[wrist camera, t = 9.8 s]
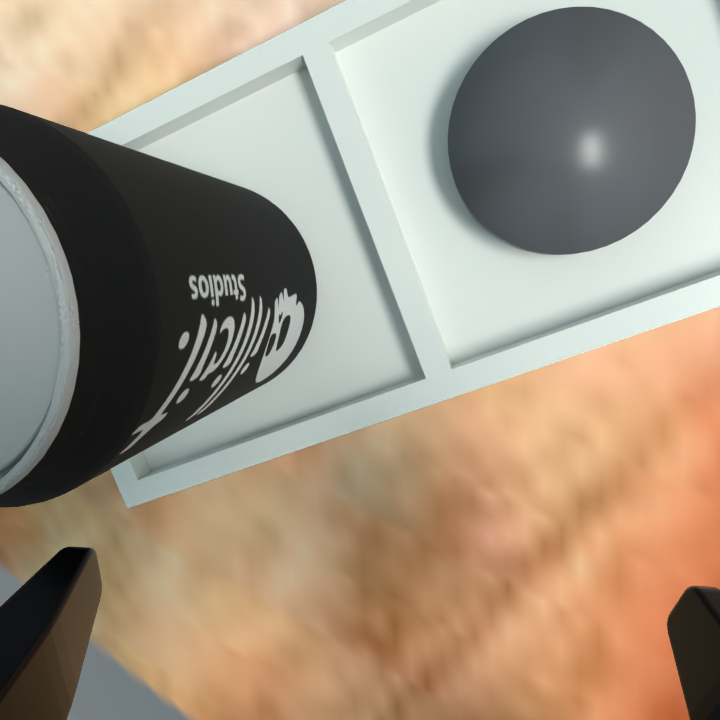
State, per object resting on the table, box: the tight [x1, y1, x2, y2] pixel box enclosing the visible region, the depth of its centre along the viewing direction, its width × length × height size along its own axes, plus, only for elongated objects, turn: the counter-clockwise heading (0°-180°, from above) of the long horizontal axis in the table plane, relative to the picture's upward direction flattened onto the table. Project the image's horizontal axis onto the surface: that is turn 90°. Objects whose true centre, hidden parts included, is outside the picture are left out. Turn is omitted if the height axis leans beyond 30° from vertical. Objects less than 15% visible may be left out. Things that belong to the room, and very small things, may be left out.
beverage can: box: [0, 105, 317, 507], centre depth 14 cm, size 7×7×12 cm
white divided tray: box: [86, 0, 720, 509], centre depth 19 cm, size 12×23×2 cm, turn 112°
